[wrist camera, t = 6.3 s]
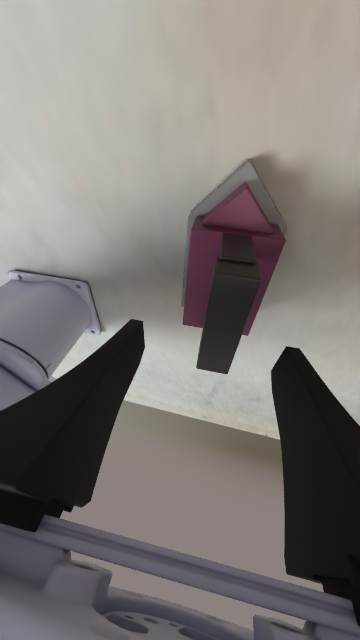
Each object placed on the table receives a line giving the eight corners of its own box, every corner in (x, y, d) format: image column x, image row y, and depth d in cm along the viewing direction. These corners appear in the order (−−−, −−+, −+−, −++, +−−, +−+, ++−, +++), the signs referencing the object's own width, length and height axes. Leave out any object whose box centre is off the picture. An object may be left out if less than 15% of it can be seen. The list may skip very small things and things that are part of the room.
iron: (251, 310, 21) (259, 388, 15) (183, 299, 22) (162, 369, 16) (305, 163, 13) (374, 193, 7) (195, 154, 14) (162, 173, 7)
